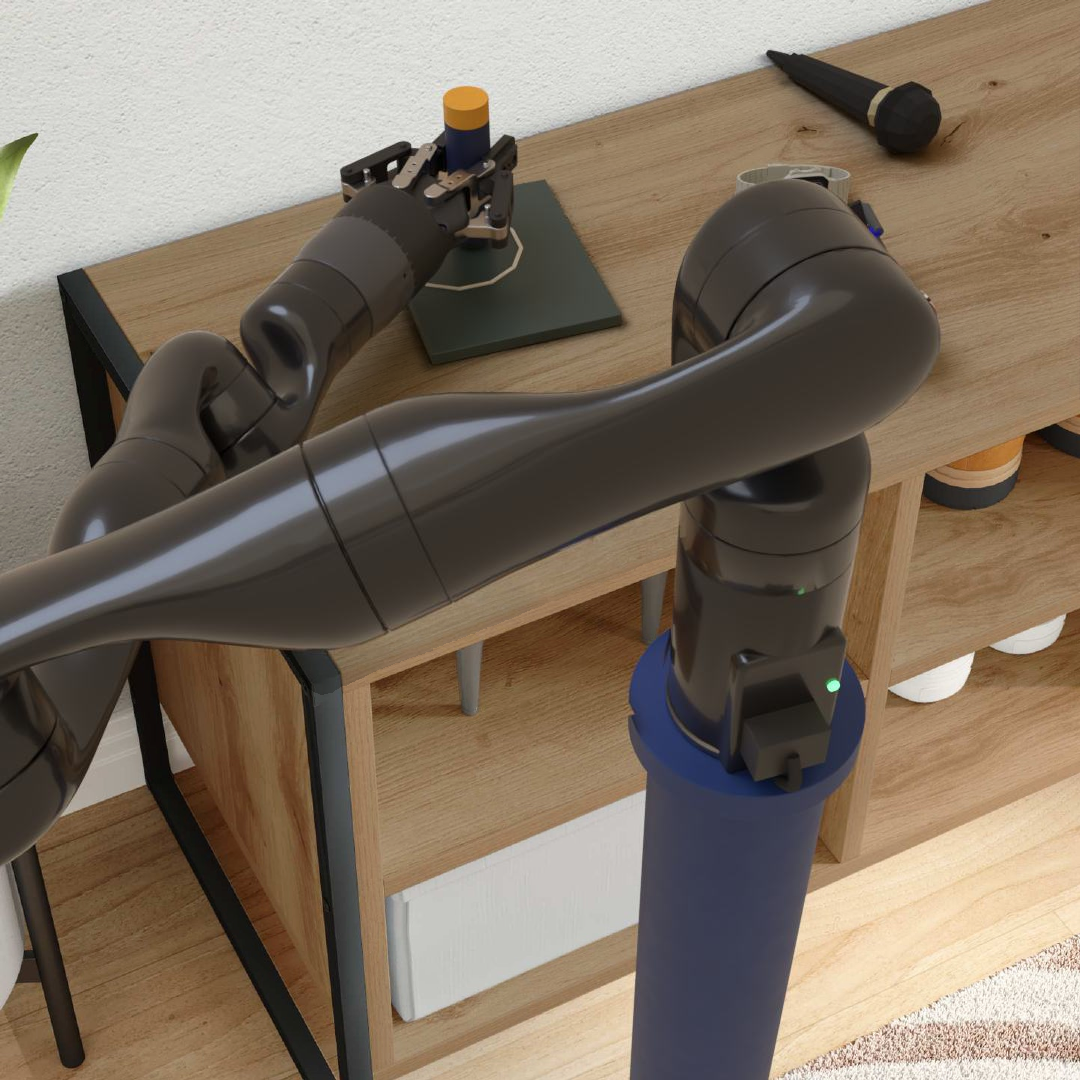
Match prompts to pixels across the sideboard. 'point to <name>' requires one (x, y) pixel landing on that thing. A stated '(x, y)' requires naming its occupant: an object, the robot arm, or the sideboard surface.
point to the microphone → (870, 101)
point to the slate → (514, 287)
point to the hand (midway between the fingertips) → (487, 140)
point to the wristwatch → (799, 177)
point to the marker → (466, 136)
